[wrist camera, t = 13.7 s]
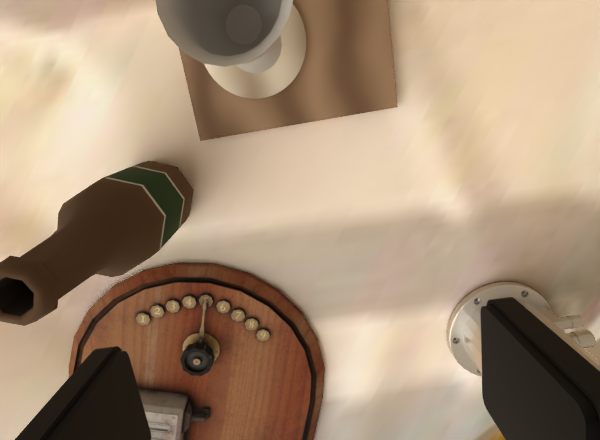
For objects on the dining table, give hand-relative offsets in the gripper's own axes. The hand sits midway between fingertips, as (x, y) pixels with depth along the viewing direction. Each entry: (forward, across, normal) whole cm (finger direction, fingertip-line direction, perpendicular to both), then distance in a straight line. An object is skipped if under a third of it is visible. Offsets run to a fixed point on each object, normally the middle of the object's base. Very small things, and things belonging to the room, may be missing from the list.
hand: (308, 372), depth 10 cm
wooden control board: (+34, +16, +23) cm, 44 cm away
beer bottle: (+33, +16, 0) cm, 37 cm away
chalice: (+31, +3, -13) cm, 34 cm away
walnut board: (+33, 0, -13) cm, 36 cm away
